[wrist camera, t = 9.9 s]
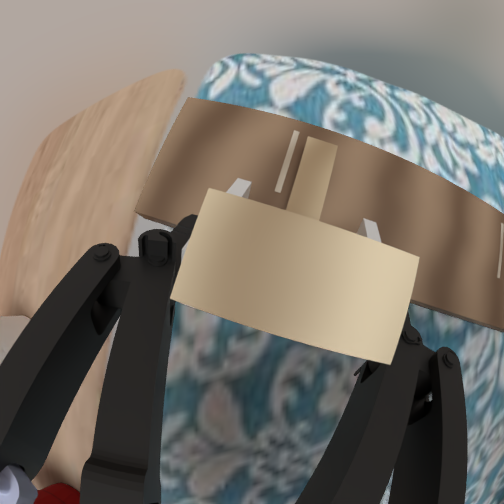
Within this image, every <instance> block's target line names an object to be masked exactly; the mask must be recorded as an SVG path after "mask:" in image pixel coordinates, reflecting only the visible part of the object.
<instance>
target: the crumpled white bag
mask: <svg viewBox="0 0 504 504" xmlns="http://www.w3.org/2000/svg"><path fill="white" fill-rule="evenodd" d="M30 320H31V319H30V318H28V317H26V316H24V315H21V316H0V365H1V363H2V361H3V360H4V358H5V357H6V355H7V353H8V352H9V350H10V349H11V347H12V346H13V344H14V343H15V341H16V340H17V338H18V337H19V335H20V334H21V332H22V331H23V330H24V328H25V327H26V325H27V324H28V323H29V321H30Z"/></svg>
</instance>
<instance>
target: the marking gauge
mask: <svg viewBox="0 0 504 504" xmlns="http://www.w3.org/2000/svg"><path fill="white" fill-rule="evenodd" d="M337 147H338V146H337V145H334V144H331V143H328V142H325V141H322V140H319V139H316V138H312V137H309V136H308V138H307V142H306V145H305V148H304V152H303V155H302V158H301V162H300V165H299V169H298V172H297V175H296V178H295V182H294V185H293V188H292V192H291V195H290V198H289V201H288V205H287V208H286V210H283V209H280V208H277V207H273V206H270V205H267V204H263V203H260V202H257V201H253V200H250V199H247V198H243V197H240V196H236V195H233V194H229V193H226V192H222V191H219V190H215V189H211V188H209V189H208V191H207V194H206V196H205V199H204V202H203V204H202V207H201V210H200V212H199V215H198V218H197V220H196V223H195V226H194V229H193V231H192V234H191V237H190V240H189V243H188V245H187V248H186V251H185V254H184V257H183V260H182V263H181V266H180V269H179V272H178V275H177V278H176V281H175V284H174V287H173V290H172V293H171V296H170V299H173V300H175V301H178V302H180V303H183V304H186V305H188V306H191V307H194V308H197V309H199V310H202V311H205V312H208V313H210V314H213V315H216V316H219V317H222V318H225V319H228V320H231V321H234V322H237V323H240V324H243V325H246V326H249V327H252V328H255V329H258V330H261V331H264V332H268V333H271V334H274V335H277V336H281V337H284V338H287V339H291V340H294V341H298V342H301V343H305V344H308V345H312V346H316V347H319V348H323V349H327V350H331V351H334V352H338V353H342V354H346V355H350V356H354V357H358V358H363V359H367V360H371V361H376V362H380V363H385V364H389V365H391V362H392V359H393V356H394V353H395V350H396V347H397V344H398V341H399V338H400V335H401V332H402V328H403V325H404V321H405V318H406V314H407V311H408V307H409V303H410V299H411V295H412V291H413V287H414V282H415V278H416V273H417V268H418V263H419V258H420V257H418V256H415V255H412V254H410V253H407V252H405V251H402V250H399V249H397V248H394V247H391V246H389V245H386V244H383V243H381V242H378V241H375V240H372V239H370V238H367V237H364V236H361V235H358V234H356V233H353V232H350V231H347V230H344V229H341V228H338V227H335V226H332V225H329V224H326V223H323V222H320V221H319V219H320V215H321V212H322V208H323V204H324V200H325V197H326V193H327V189H328V185H329V181H330V177H331V173H332V169H333V165H334V160H335V156H336V152H337Z"/></svg>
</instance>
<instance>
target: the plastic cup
mask: <svg viewBox="0 0 504 504" xmlns="http://www.w3.org/2000/svg"><path fill="white" fill-rule="evenodd" d="M37 492H38V496H37V498H36V499H35V501H34V503H33V504H80V493H79V492H78V491H77V490H76V489H74V488H72V487H71V486H69V485H67V484H64V483H57V484H52V485H50V486H48V487H46V488H44V489H41V490H37Z"/></svg>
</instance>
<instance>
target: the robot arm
mask: <svg viewBox="0 0 504 504" xmlns="http://www.w3.org/2000/svg"><path fill="white" fill-rule="evenodd" d="M251 184H252V182H250V181H247V180H243V179H240V178H237V180H236V181H235V182H234V183H233V185H232V186H231V187H230V188H229V189H228V191H227V192H226V193H229V194H233V195H236V196H240V197H243V198H247V199H248V197H249V192H250V188H251ZM197 218H198V215H194V214H191V215H189V216H187V217H184V218H183V219H182V220H181V221H180V222H179V223H178V225H177V226H176V227H175V228H174V229H173V231H171V232H169V231H166V230H162V229H153V230H149V231H146V232H144V233H143V234H141V235H140V237H139V238H138V243H139V257H130V256H120V255H119V250H118V248H117V247H116V246H114V245H112V244H109V243H101V244H97V245H94V246H92V247H91V248H90V249H89V250H88V251H87V252H86V253H85V254H84V255H83V256H82V257H81V258H80V259H79V261H78V262H77V263H76V264H75V265H74V266H73V267H72V268H71V270H70V271H69V272H68V273H67V274H66V275H65V277H64V278H63V279H62V280H61V281H60V283H59V284H58V285H57V286H56V287H55V289H54V290H53V291H52V292H51V294H50V295H49V296H48V297H47V299H46V300H45V301H44V303H43V304H42V305H41V306H40V308H39V309H38V310H37V312H36V313H35V314H34V316H33V317H32V318H31V320H30V321H29V323H28V324H27V325H26V327H25V328H24V330H23V331H22V332H21V334H20V335H19V337H18V338H17V340H16V341H15V343H14V344H13V346H12V347H11V349H10V350H9V352H8V353H7V355H6V357H5V358H4V360H3V361H2V363H1V365H0V504H33V503H34V501H35V499H36V498H37V496H38V492H37V489H36V487H35V486H34V485H33V484H32V482H31V481H32V479H33V478H34V477H35V476H36V475H37V474H38V472H39V471H40V469H41V468H42V466H43V464H44V462H45V460H46V458H47V456H48V454H49V451H50V449H51V447H52V444H53V442H54V440H55V438H56V435H57V433H58V431H59V429H60V427H61V424H62V422H63V420H64V418H65V416H66V414H67V412H68V410H69V408H70V406H71V404H72V402H73V400H74V398H75V396H76V394H77V392H78V390H79V388H80V386H81V384H82V382H83V380H84V378H85V376H86V375H87V373H88V371H89V369H90V367H91V365H92V363H93V362H94V360H95V358H96V356H97V354H98V353H99V351H100V349H101V347H102V346H103V344H104V342H105V340H106V339H107V337H108V335H109V334H110V332H111V330H112V328H113V327H114V325H115V323H116V322H117V320H118V318H119V317H120V319H119V322H118V326H117V330H116V333H115V337H114V341H113V345H112V349H111V353H110V357H109V361H108V365H107V370H106V374H105V379H104V383H103V388H102V393H101V398H100V403H99V409H98V415H97V421H96V427H95V434H94V441H93V449H92V453H91V456H90V458H89V459H88V460H87V461H86V462H85V464H84V467H83V470H82V476H81V487H80V504H161V483H160V451H161V433H162V418H163V406H164V395H165V384H166V375H167V366H168V357H169V349H170V341H171V334H172V327H173V320H174V313H175V302H176V301H175V300H173V299H170V296H171V293H172V290H173V287H174V284H175V281H176V278H177V275H178V272H179V269H180V266H181V263H182V260H183V257H184V254H185V251H186V248H187V245H188V243H189V240H190V237H191V234H192V231H193V229H194V226H195V223H196V220H197ZM356 234H358V235H361V236H364V237H367V238H370V239H372V240H375V241H378V242H381V239H380V235H379V231H378V227H377V224H376V222H373V221H370V220H367V219H365V218H363V220H362V223H361V225H360V227H359V229H358V231H357V233H356ZM181 304H183V303H181ZM184 305H186V304H184ZM187 306H188V305H187ZM189 307H191V306H189ZM192 308H194V307H192ZM195 309H197V308H195ZM120 315H121V316H120ZM359 372H360V374H359V376H358V379H357V382H356V384H355V387H354V389H353V392H352V394H351V397H350V399H349V401H348V404H347V406H346V408H345V411H344V413H343V415H342V417H341V420H340V422H339V424H338V426H337V428H336V430H335V433H334V435H333V437H332V439H331V441H330V443H329V445H328V447H327V449H326V451H325V453H324V455H323V456H322V458H321V460H320V462H319V464H318V466H317V468H316V469H315V471H314V473H313V475H312V476H311V478H310V480H309V482H308V483H307V485H306V487H305V488H304V490H303V492H302V493H301V495H300V497H299V498H298V500H297V501H296V503H295V504H380V501H381V499H382V497H383V494H384V492H385V489H386V487H387V484H388V482H389V479H390V477H391V474H392V471H393V469H394V472H393V479H392V485H391V491H390V496H389V502H388V504H464V502H465V493H466V480H467V420H466V407H465V397H464V388H463V381H462V374H461V367H460V362H459V359H458V357H457V355H456V354H455V352H453V351H452V350H451V349H450V348H448V347H441V348H439V349H438V350H437V351H436V352H434V351H432V350H430V349H429V348H427V347H425V346H424V345H423V344H422V338H421V336H420V334H419V332H418V331H417V330H416V329H415V328H414V327H412V326H411V324H410V318H409V313H408V311H407V314H406V318H405V321H404V325H403V328H402V332H401V335H400V338H399V341H398V344H397V347H396V350H395V353H394V356H393V359H392V362H391V365H389V364H385V363H380V362H376V361H371V360H367V361H366V362H365V363H364V364H363V365H362V366H361V367H360V368H359V369H358V370H357V371H356V372H355V374H354V376H356V375H357V374H358V373H359ZM431 393H432V400H431V401H429V395H430V394H431Z"/></svg>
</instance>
